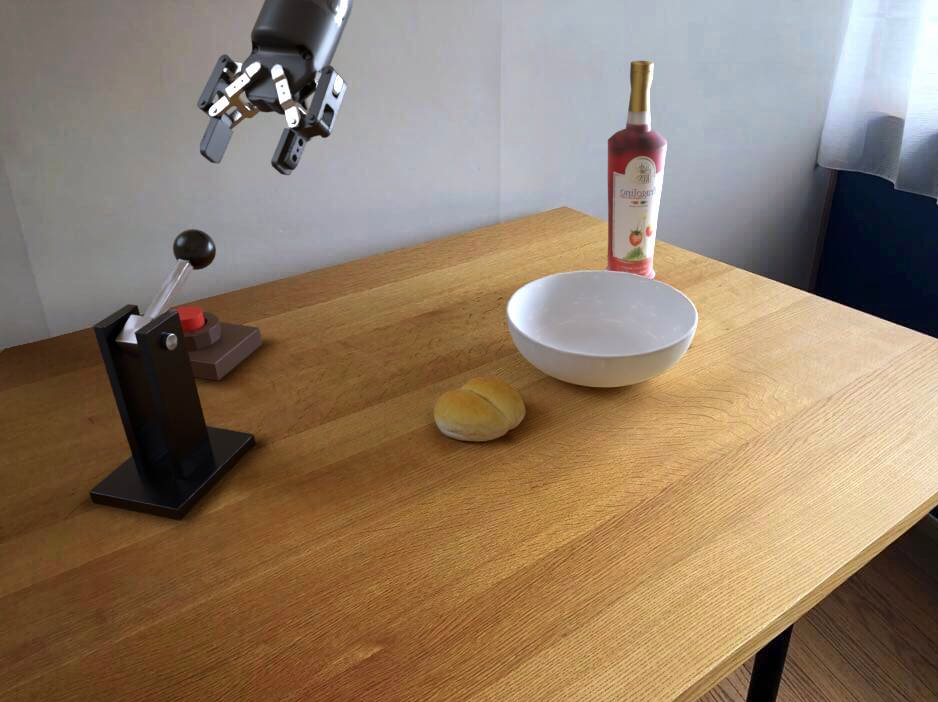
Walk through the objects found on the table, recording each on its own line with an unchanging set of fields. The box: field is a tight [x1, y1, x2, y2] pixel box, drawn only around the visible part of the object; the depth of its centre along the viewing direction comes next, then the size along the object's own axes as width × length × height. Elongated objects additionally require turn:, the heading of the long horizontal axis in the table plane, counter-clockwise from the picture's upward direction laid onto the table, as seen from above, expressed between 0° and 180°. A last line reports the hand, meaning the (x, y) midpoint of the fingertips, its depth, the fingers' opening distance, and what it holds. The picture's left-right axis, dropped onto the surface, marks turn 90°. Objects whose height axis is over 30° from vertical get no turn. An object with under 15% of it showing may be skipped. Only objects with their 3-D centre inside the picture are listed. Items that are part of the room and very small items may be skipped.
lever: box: [115, 228, 217, 359], centre depth 75 cm, size 13×4×4 cm, turn 164°
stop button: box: [173, 305, 205, 332], centre depth 96 cm, size 4×4×2 cm
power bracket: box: [88, 303, 257, 521], centre depth 75 cm, size 12×9×16 cm
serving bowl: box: [505, 269, 699, 388], centre depth 95 cm, size 21×21×7 cm
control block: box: [183, 310, 263, 382], centre depth 98 cm, size 12×9×4 cm
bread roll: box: [433, 376, 527, 442], centre depth 86 cm, size 8×9×4 cm
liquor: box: [603, 60, 668, 279], centre depth 109 cm, size 7×7×28 cm
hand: (243, 164), depth 80 cm, fingers open, 8 cm apart
